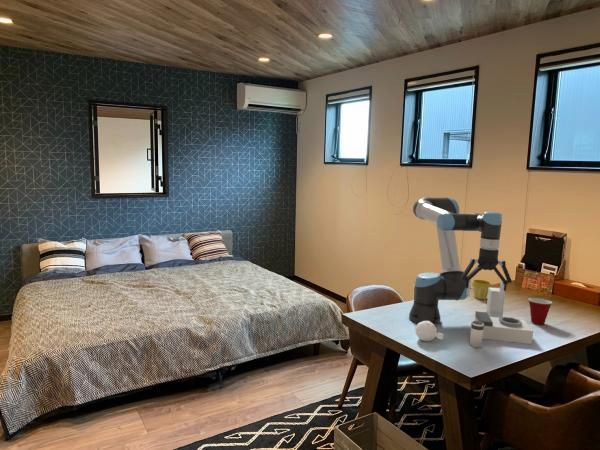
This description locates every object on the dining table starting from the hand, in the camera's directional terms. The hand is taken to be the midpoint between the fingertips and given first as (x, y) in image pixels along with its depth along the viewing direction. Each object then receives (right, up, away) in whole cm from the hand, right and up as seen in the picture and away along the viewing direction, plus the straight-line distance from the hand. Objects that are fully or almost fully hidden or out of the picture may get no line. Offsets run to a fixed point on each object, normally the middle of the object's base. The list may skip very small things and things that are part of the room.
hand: (484, 296), depth 194 cm
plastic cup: (+40, -19, +33) cm, 55 cm away
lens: (-3, -21, +1) cm, 21 cm away
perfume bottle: (-23, -20, +3) cm, 31 cm away
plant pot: (+27, -12, +73) cm, 79 cm away
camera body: (+14, -20, +14) cm, 28 cm away
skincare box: (+19, -17, +36) cm, 44 cm away
